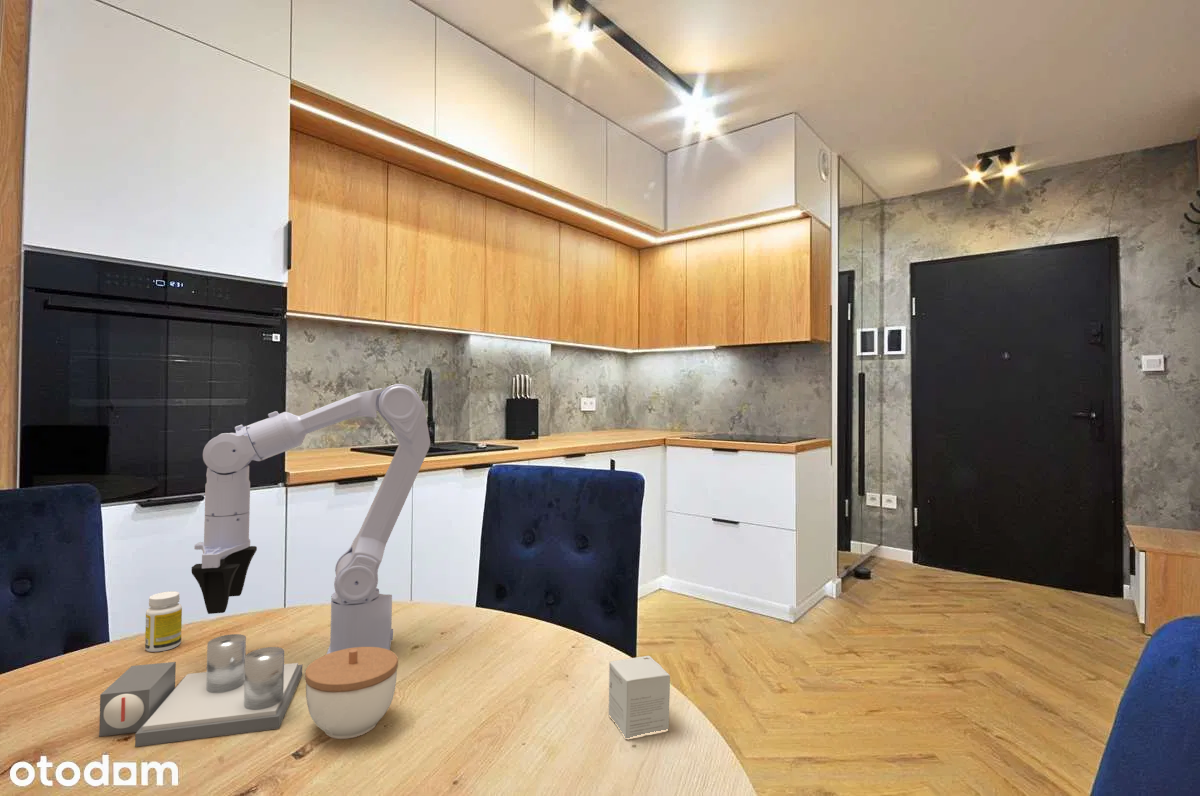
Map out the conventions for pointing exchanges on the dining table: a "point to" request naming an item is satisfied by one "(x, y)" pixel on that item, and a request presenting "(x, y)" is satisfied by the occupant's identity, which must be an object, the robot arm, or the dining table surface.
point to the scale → (183, 706)
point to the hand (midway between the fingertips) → (225, 603)
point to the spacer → (225, 663)
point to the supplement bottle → (163, 622)
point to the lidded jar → (350, 690)
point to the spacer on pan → (263, 678)
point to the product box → (639, 695)
